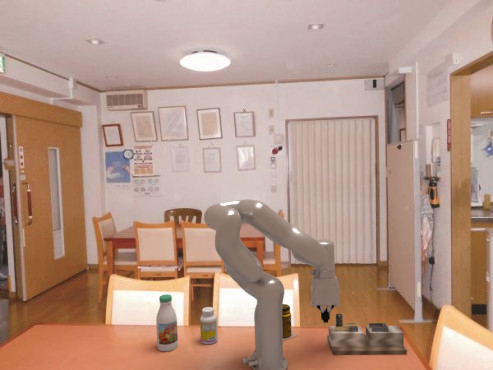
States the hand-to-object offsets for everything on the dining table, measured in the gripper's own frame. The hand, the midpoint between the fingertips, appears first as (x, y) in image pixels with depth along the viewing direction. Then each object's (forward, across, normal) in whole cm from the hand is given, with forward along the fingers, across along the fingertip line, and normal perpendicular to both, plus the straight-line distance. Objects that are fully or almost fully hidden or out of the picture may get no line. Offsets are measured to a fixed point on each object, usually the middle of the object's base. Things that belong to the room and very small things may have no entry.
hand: (325, 321), depth 141 cm
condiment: (+10, -16, +9) cm, 21 cm away
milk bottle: (+10, -60, +1) cm, 61 cm away
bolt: (+3, +8, 0) cm, 8 cm away
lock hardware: (+3, +15, 0) cm, 16 cm away
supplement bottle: (+10, -45, +5) cm, 46 cm away
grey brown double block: (+10, +14, 0) cm, 18 cm away
